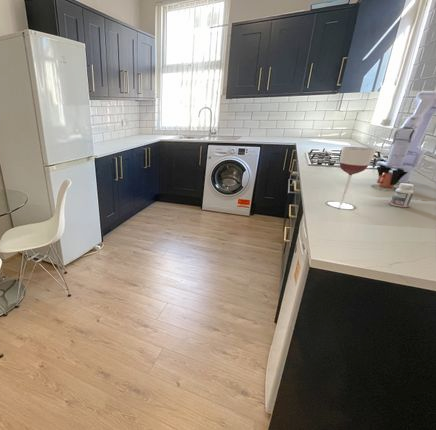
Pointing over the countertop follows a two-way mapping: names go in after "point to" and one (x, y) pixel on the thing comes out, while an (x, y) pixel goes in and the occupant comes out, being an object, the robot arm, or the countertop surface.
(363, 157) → the wineglass
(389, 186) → the mug
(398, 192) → the pill bottle
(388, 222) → the countertop surface
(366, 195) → the countertop surface
